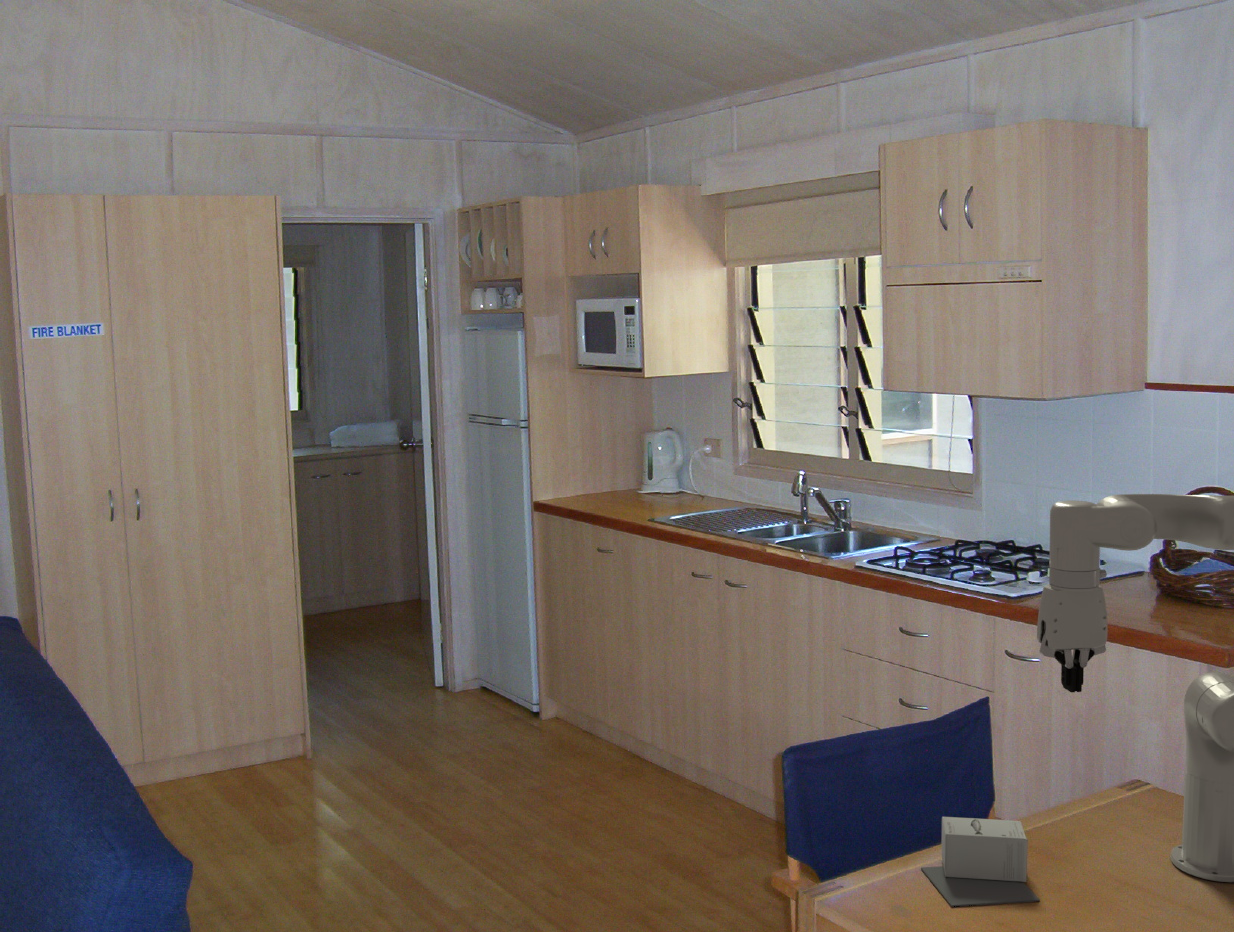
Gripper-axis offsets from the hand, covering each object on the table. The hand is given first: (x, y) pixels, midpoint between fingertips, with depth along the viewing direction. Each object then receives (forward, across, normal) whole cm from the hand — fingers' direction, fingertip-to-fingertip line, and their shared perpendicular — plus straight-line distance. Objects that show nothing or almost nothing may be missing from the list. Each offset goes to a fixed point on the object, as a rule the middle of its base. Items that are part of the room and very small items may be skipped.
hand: (1072, 689), depth 199 cm
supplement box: (+24, +10, +4) cm, 27 cm away
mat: (+28, +18, +7) cm, 34 cm away
